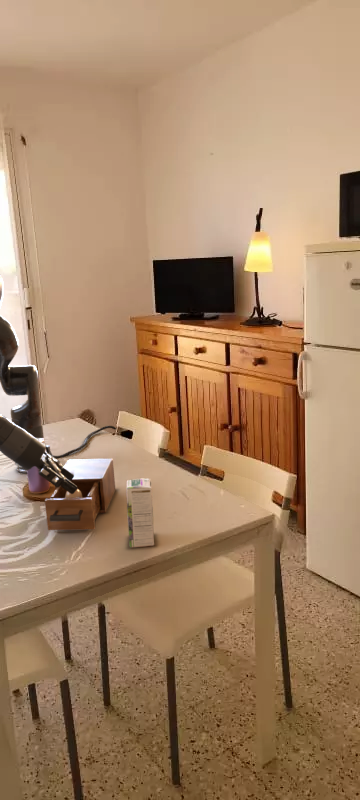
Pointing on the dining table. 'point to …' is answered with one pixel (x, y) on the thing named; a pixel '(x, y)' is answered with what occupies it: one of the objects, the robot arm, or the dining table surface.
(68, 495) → the egg
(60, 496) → the drawer
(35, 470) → the beverage can
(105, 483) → the cabinet
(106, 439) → the dining table surface
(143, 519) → the syrup box
